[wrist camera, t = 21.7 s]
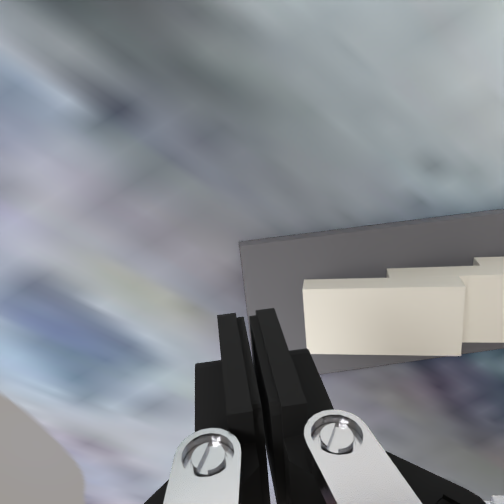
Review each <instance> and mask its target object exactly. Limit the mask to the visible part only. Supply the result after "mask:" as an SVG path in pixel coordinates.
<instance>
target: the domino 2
mask: <svg viewBox="0 0 504 504" xmlns="http://www.w3.org/2000/svg"><path fill="white" fill-rule="evenodd" d="M439 276H459V277H460V278H461V280H462V281H463V283H464V285H465V286H466V292H465V306H464V320H463V334H462V342H479V343H504V265H482V266H450V267H418V268H387V278H394V277H439Z"/></svg>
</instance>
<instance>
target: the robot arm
mask: <svg viewBox="0 0 504 504" xmlns="http://www.w3.org/2000/svg"><path fill="white" fill-rule="evenodd" d="M217 318H218V329H219V340H220V350H221V360H219V361H211V362H204V363H197V364H195V432H194V433H192V434H191V435H189V436H188V437H187V438H185V439H184V440H183V441H182V442H181V444H180V445H179V446H178V448H177V450H176V453H175V455H174V460H173V464H172V468H171V472H170V477H169V480H168V481H167V482H166V483H165V484H164V485H163V486H162V487H161V488H159V489H158V490H157V491H156V492H155V493H154V494H153V495H152V496H151V497H150V498H149V499H148V500H147V501H146V502H145V503H144V504H270V493H269V482H268V470H267V458H266V450H267V455H268V460H269V465H270V470H271V476H272V481H273V486H274V491H275V496H276V502H277V504H504V496H496V495H492V496H491V501H483V500H482V499H481V498H480V497H479V496H477V495H475V494H474V493H472V492H470V491H469V490H467V489H465V488H463V487H461V486H459V485H456V484H454V483H452V482H450V481H448V480H446V479H444V478H442V477H439V476H437V475H435V474H433V473H431V472H429V471H427V470H425V469H423V468H420V467H418V466H416V465H414V464H412V463H410V462H408V461H406V460H403V459H401V458H399V457H397V456H395V455H393V454H391V453H389V452H387V451H385V450H384V449H383V448H382V446H381V445H380V443H379V442H378V441H377V439H376V438H375V436H374V435H373V434H372V432H371V431H370V429H369V428H368V427H367V425H366V424H365V423H364V422H363V421H362V420H361V419H360V418H359V417H357V416H355V415H354V414H352V413H349V412H346V411H343V410H334V408H333V406H332V404H331V401H330V399H329V397H328V394H327V392H326V389H325V387H324V385H323V382H322V380H321V378H320V375H319V373H318V370H317V368H316V366H315V363H314V361H313V358H312V356H311V354H310V352H309V350H308V349H307V348H305V349H298V350H290V351H289V349H288V346H287V343H286V340H285V338H284V335H283V332H282V329H281V326H280V323H279V320H278V317H277V314H276V312H275V309H274V308H269V309H261V310H256V315H253V316H249V323H250V333H251V344H252V355H253V361H252V356H251V351H250V346H249V342H248V337H247V332H246V327H245V322H244V317H238V318H236V313H231V314H223V315H217ZM265 444H266V447H265Z"/></svg>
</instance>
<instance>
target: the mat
mask: <svg viewBox="0 0 504 504" xmlns="http://www.w3.org/2000/svg"><path fill="white" fill-rule="evenodd" d="M239 248H240V256H241V265H242V273H243V281H244V290H245V298H246V307H247V315H248V324H249V332H250V323H249V316H253V315H256V310H261V309H269V308H274V309H275V312H276V314H277V317H278V320H279V323H280V326H281V329H282V332H283V335H284V338H285V340H286V343H287V346H288V349H289V351H290V350H298V349H305V348H307V346H306V332H305V318H304V304H303V291H302V289H303V283H304V279H348V278H387V268H418V267H450V266H473V260H474V257H504V209H498V210H490V211H482V212H474V213H466V214H458V215H450V216H442V217H434V218H426V219H418V220H410V221H401V222H393V223H385V224H377V225H369V226H361V227H353V228H345V229H337V230H329V231H321V232H313V233H305V234H297V235H289V236H281V237H273V238H265V239H257V240H249V241H241V242H239ZM250 341H251V333H250ZM502 348H504V343H479V342H462V349H461V354H467V353H474V352H481V351H488V350H495V349H502ZM251 349H252V344H251ZM311 356H312V358H313V361H314V363H315V366H316V368H317V370H318V373H319V374H325V373H332V372H339V371H346V370H354V369H361V368H368V367H375V366H382V365H389V364H396V363H403V362H410V361H417V360H424V359H431V358H439V357H446V356H415V355H347V354H311ZM252 358H253V355H252Z"/></svg>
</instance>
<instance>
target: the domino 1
mask: <svg viewBox="0 0 504 504" xmlns="http://www.w3.org/2000/svg"><path fill="white" fill-rule="evenodd" d="M302 291H303V304H304V318H305V332H306V346H307V349H308V350H309V352H310V354H347V355H415V356H461V349H462V334H463V320H464V306H465V292H466V286H465V285H464V283H463V281H462V280H461V278H460V277H459V276H439V277H394V278H348V279H304V283H303V289H302Z"/></svg>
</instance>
